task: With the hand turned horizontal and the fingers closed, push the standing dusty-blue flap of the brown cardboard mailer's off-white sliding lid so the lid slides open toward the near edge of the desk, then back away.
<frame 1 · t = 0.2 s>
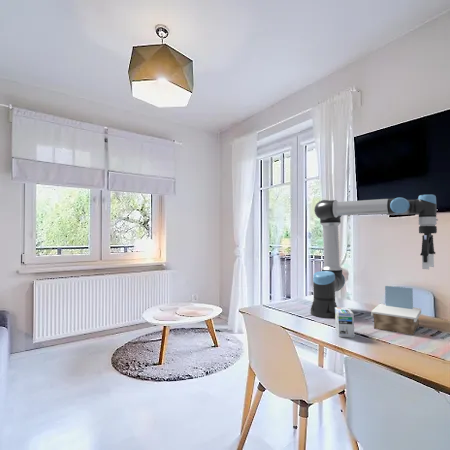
hand: (428, 268, 154), 28 cm above the table, tool pointing down, fingers open, 13 cm apart
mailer: (396, 326, 150), on the table
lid: (396, 301, 150), point 12 cm above the table, slide at 0.0 cm
light bulb box: (344, 334, 139), on the table
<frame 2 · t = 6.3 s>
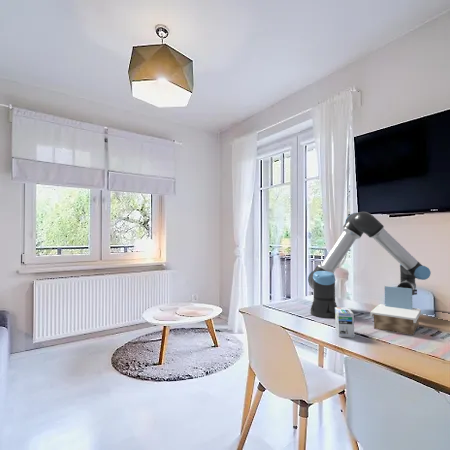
hand: (398, 295, 155), 14 cm above the table, tool horizontal, fingers closed
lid: (395, 302, 149), point 12 cm above the table, slide at 1.4 cm, touching gripper
everything else where it was.
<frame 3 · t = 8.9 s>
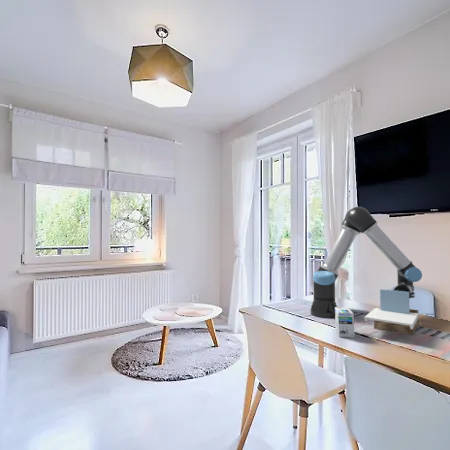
hand: (394, 299, 147), 14 cm above the table, tool horizontal, fingers closed
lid: (391, 306, 141), point 12 cm above the table, slide at 11.8 cm, touching gripper
everything else where it was.
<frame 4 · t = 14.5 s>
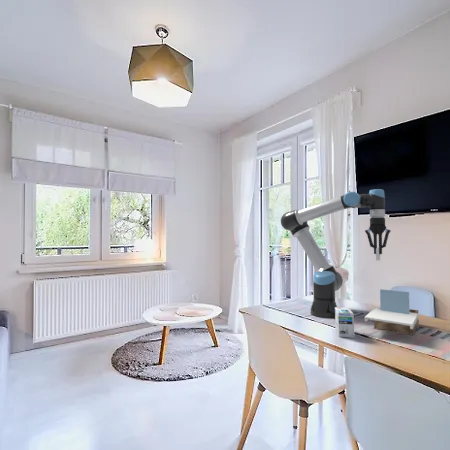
hand: (378, 260, 170), 30 cm above the table, tool pointing down, fingers closed
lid: (391, 306, 140), point 12 cm above the table, slide at 11.8 cm
everything else where it was.
at the end: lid slide at 11.8 cm; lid touching nothing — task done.
